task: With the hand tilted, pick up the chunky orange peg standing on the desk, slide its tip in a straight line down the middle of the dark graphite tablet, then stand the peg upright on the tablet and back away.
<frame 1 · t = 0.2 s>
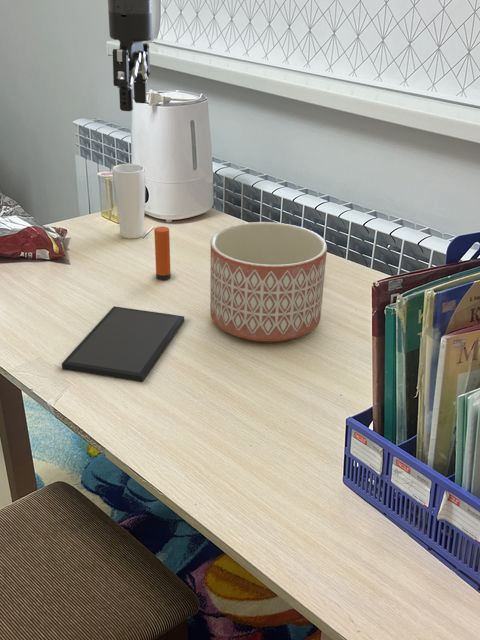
hand: (133, 106, 129), 30 cm above the table, tool pointing down, fingers open, 8 cm apart
orange peg: (163, 277, 135), on the table
drinking glass: (132, 235, 154), on the table
planter: (264, 322, 121), on the table
tablet: (127, 343, 113), on the table
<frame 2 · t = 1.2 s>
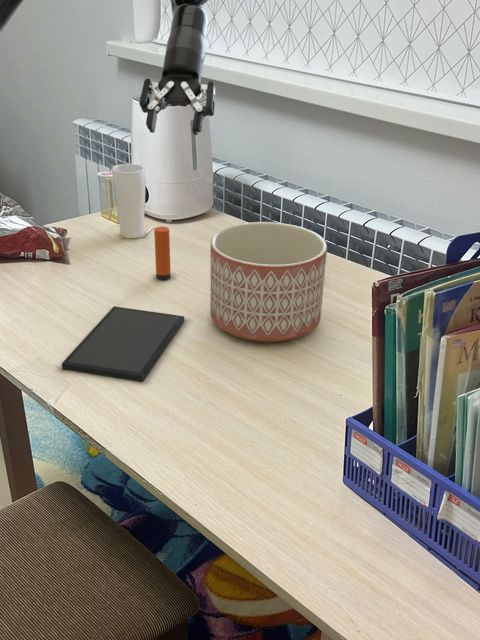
hand: (173, 131, 132), 25 cm above the table, tool tilted 45°, fingers open, 8 cm apart
nothing on the table moved.
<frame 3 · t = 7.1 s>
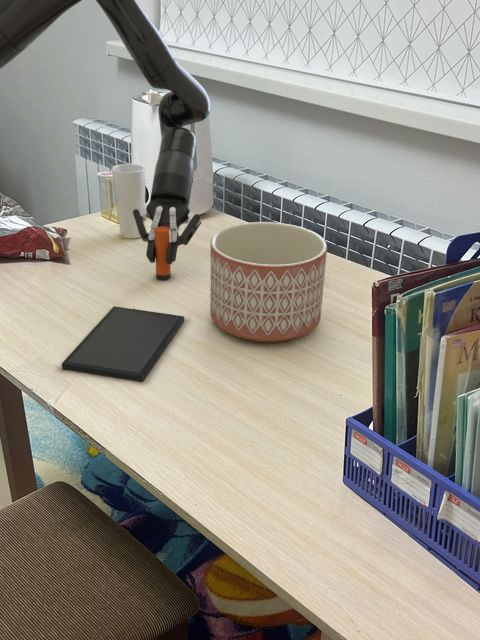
hand: (160, 261, 131), 4 cm above the table, tool tilted 45°, fingers closed on orange peg, 2 cm apart
orange peg: (163, 277, 135), on the table, touching gripper
everything else where it was.
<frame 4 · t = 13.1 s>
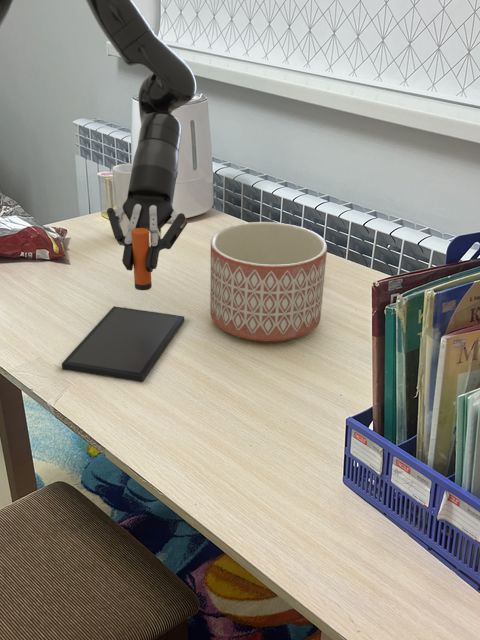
hand: (138, 269, 112), 11 cm above the table, tool tilted 45°, fingers closed on orange peg, 2 cm apart
orange peg: (143, 287, 116), point 7 cm above the table, touching gripper
everything else where it was.
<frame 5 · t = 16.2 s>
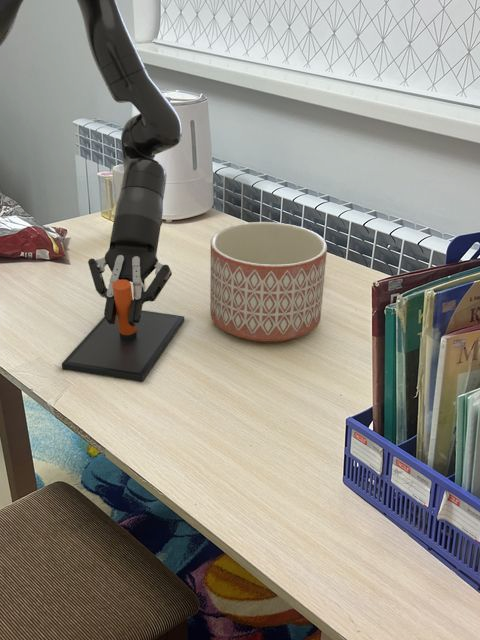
hand: (121, 323, 108), 5 cm above the table, tool tilted 45°, fingers closed on orange peg, 3 cm apart
orange peg: (128, 334, 113), point 1 cm above the table, tilted 10°, touching gripper, tablet
everything else where it was.
when the fingers open (5 cm above the table, at t = 19.0 s): orange peg stays where it is, resting on tablet.
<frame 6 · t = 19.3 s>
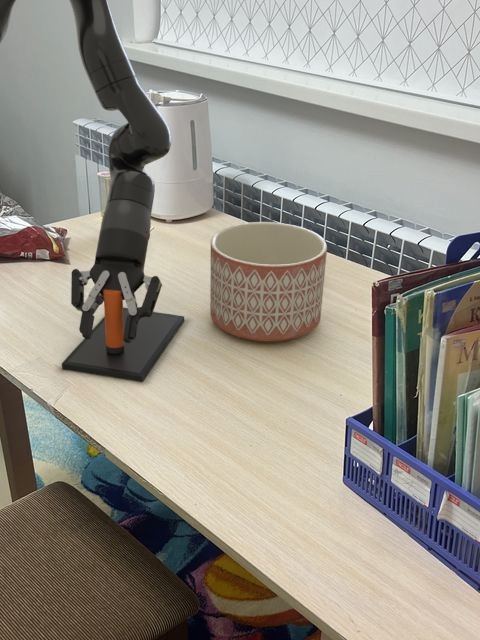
hand: (106, 339, 104), 5 cm above the table, tool tilted 45°, fingers open, 5 cm apart
orange peg: (115, 350, 109), point 1 cm above the table, tilted 7°, touching tablet
everything else where it was.
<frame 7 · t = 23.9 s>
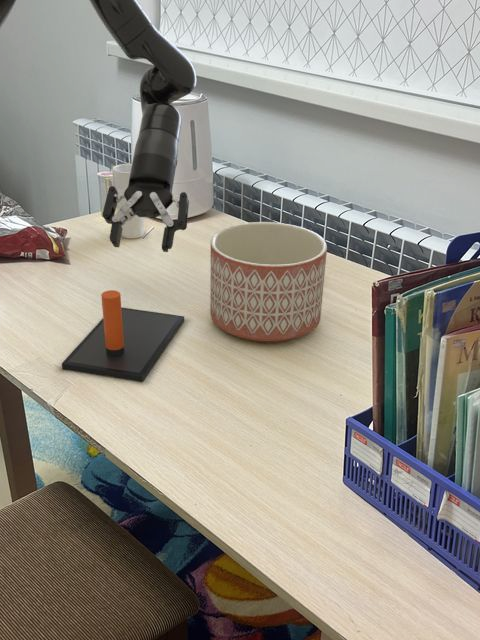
hand: (140, 248, 117), 12 cm above the table, tool tilted 45°, fingers open, 8 cm apart
orange peg: (115, 351, 109), point 1 cm above the table, touching tablet
everything else where it was.
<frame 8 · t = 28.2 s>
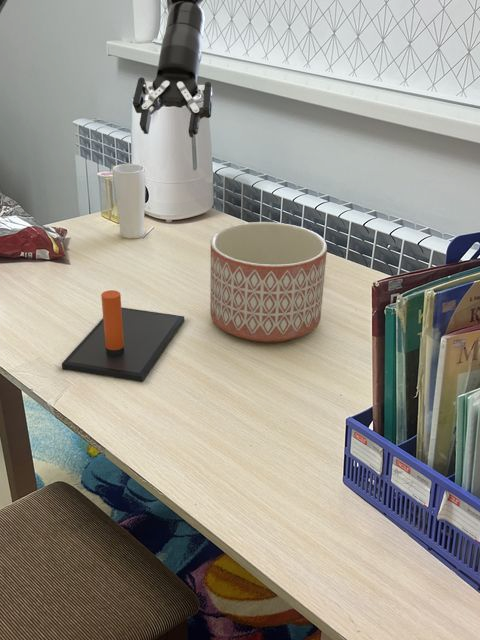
hand: (168, 133, 126), 27 cm above the table, tool tilted 45°, fingers open, 8 cm apart
nothing on the table moved.
at the end: orange peg inside the target area on the tablet (4.4 cm from its centre), point 1.0 cm above the tablet's base; orange peg tilted 0°; the gripper is holding nothing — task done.
